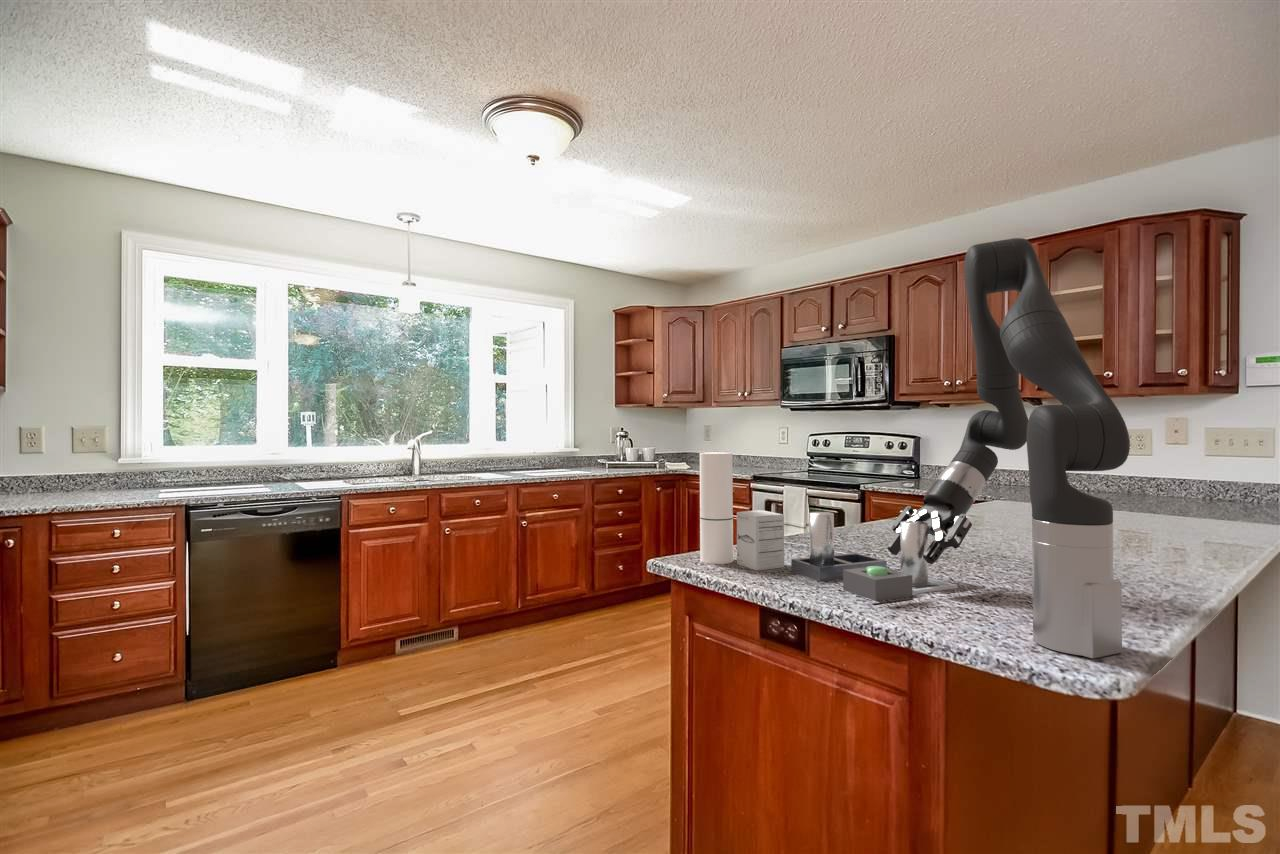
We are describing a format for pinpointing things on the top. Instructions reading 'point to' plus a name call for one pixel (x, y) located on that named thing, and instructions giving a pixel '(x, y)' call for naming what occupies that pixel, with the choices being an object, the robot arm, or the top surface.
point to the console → (878, 585)
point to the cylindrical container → (716, 508)
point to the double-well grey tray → (834, 566)
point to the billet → (914, 551)
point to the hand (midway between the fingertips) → (908, 556)
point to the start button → (877, 570)
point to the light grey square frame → (936, 588)
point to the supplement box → (760, 539)
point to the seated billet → (821, 538)
